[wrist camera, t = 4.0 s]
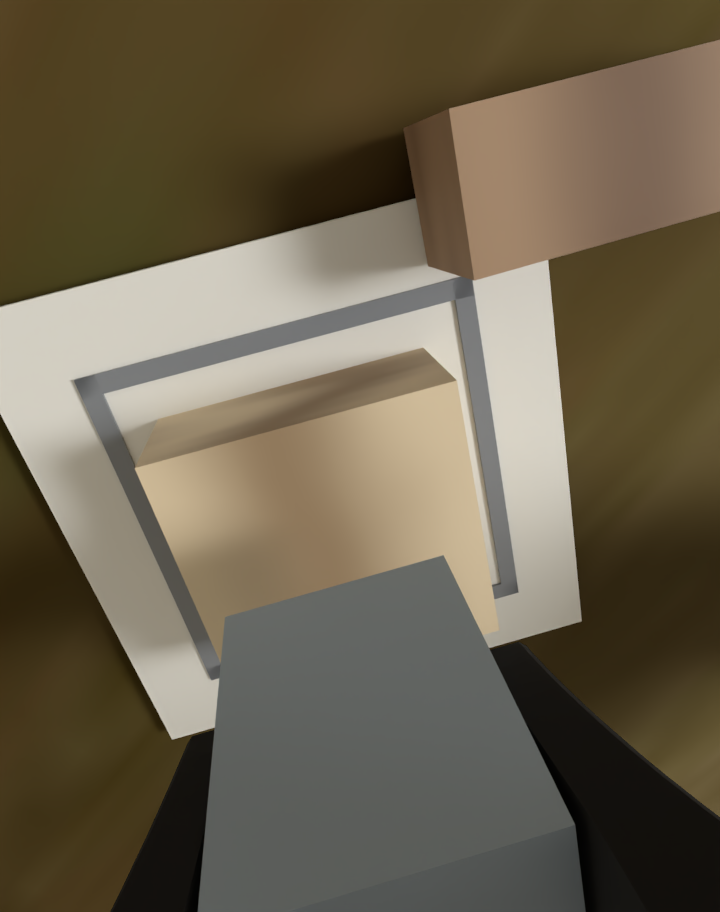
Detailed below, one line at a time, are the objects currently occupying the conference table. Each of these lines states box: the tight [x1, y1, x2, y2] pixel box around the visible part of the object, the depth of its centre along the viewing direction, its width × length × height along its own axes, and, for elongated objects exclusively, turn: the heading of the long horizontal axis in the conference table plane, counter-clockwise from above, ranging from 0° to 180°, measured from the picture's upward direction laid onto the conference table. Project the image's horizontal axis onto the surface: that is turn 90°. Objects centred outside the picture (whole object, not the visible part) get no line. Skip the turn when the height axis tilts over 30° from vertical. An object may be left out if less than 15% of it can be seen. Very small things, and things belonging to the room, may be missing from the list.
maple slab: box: [135, 348, 499, 663], centre depth 15 cm, size 7×7×3 cm
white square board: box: [0, 198, 582, 740], centre depth 17 cm, size 14×14×1 cm
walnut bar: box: [403, 40, 720, 281], centre depth 13 cm, size 8×3×3 cm, turn 104°
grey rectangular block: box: [198, 555, 586, 912], centre depth 9 cm, size 4×4×5 cm
